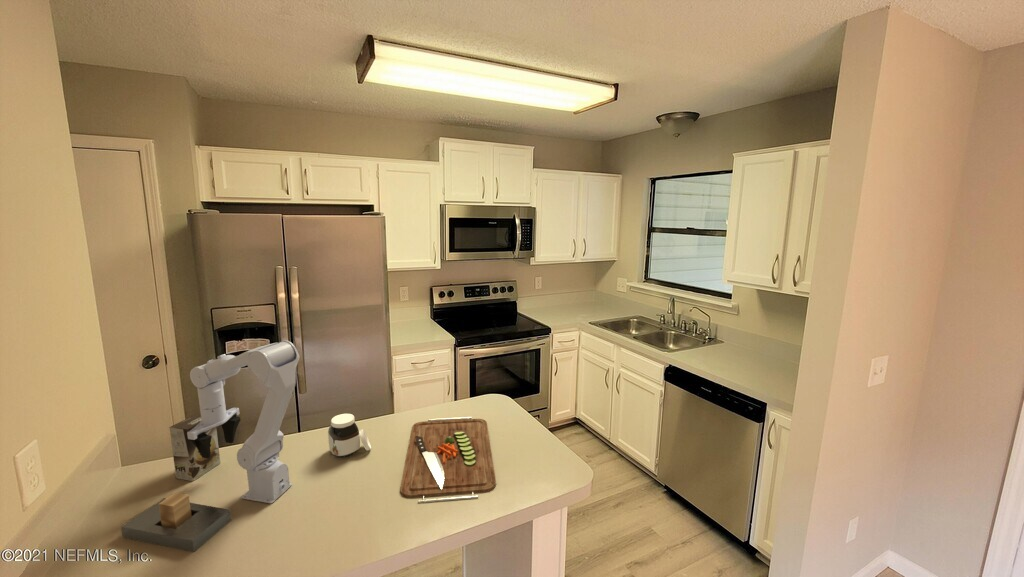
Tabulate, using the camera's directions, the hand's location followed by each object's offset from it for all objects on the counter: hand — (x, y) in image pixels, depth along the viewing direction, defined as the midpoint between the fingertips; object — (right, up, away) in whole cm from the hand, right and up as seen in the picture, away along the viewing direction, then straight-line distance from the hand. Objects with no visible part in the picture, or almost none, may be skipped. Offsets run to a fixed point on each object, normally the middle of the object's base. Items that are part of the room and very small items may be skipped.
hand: (218, 449), depth 117 cm
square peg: (+2, -13, -17) cm, 21 cm away
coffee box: (-10, -9, +6) cm, 14 cm away
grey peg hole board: (+2, -13, -17) cm, 21 cm away
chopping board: (+63, -8, +16) cm, 66 cm away
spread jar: (+31, -7, +17) cm, 36 cm away
